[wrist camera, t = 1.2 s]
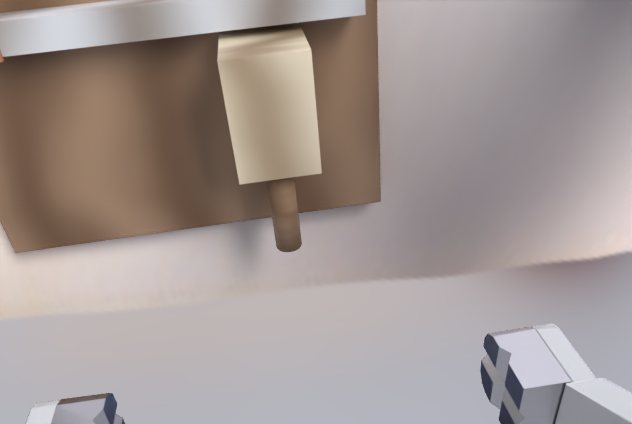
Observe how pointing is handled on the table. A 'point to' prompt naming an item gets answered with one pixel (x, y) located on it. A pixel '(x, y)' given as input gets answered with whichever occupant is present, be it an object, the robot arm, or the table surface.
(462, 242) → the table surface
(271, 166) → the wooden mallet
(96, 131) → the walnut board
